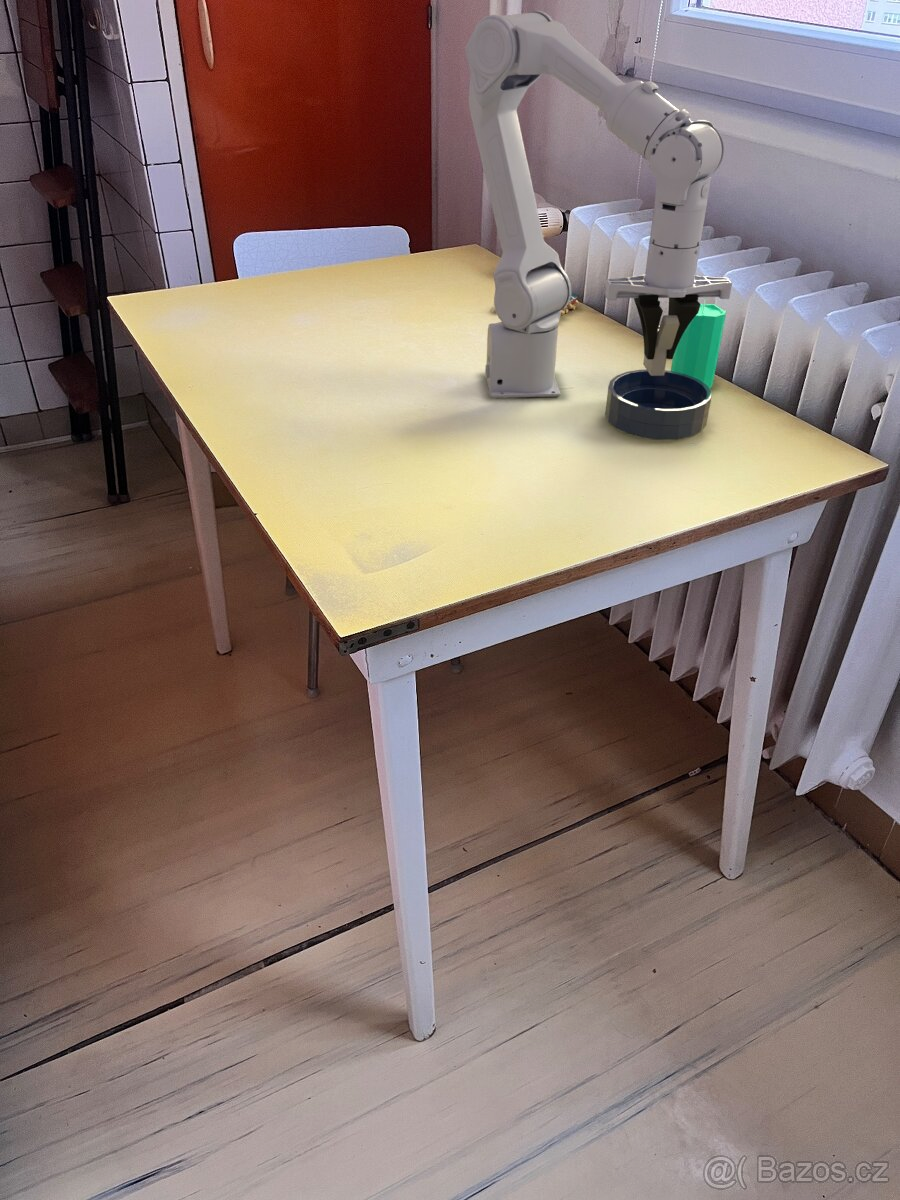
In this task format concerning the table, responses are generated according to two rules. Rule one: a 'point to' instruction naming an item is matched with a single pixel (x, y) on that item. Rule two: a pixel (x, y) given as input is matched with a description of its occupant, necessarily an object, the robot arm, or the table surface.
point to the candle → (700, 344)
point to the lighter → (662, 345)
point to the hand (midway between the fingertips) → (658, 356)
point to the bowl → (658, 405)
